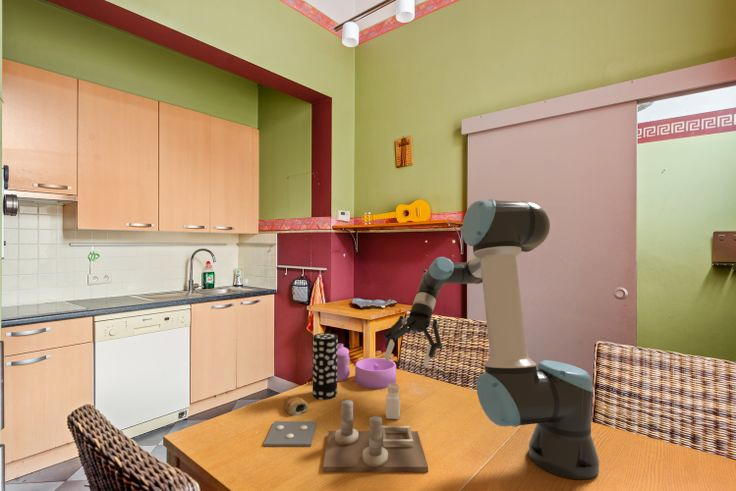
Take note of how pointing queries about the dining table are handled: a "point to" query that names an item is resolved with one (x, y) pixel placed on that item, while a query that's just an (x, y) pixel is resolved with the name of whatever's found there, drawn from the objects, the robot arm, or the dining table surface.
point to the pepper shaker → (393, 402)
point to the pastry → (295, 405)
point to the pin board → (356, 453)
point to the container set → (366, 370)
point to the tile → (291, 433)
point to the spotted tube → (325, 366)
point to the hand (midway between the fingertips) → (405, 362)
